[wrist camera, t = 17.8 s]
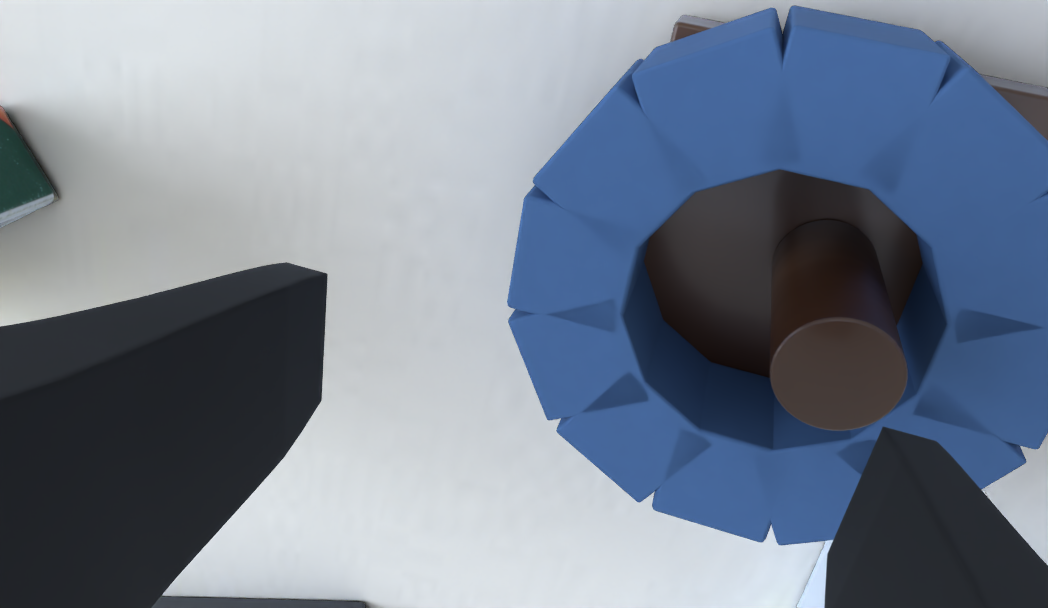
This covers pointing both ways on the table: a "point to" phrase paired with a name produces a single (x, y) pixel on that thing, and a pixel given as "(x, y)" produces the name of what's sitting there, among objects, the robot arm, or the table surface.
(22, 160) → the crayon box
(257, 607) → the usb drive
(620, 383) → the ring
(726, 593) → the table surface
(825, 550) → the mounting plate
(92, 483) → the robot arm
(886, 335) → the peg stand
